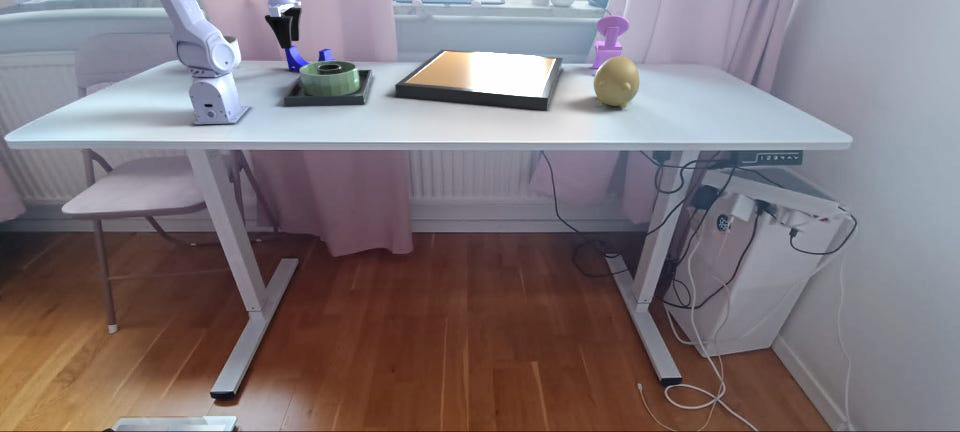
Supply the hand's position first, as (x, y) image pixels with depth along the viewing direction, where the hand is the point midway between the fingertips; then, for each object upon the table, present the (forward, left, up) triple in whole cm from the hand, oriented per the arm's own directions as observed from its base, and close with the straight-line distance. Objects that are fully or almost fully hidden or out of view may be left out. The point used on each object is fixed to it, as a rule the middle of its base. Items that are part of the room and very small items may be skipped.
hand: (290, 44), depth 109 cm
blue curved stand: (+14, -1, -10) cm, 17 cm away
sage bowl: (-4, -9, -10) cm, 14 cm away
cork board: (0, -47, -10) cm, 48 cm away
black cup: (-4, -9, -9) cm, 14 cm away
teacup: (+17, +25, -10) cm, 32 cm away
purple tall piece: (+7, -81, -10) cm, 82 cm away
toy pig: (-19, -74, -10) cm, 77 cm away
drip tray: (-4, -9, -10) cm, 14 cm away
